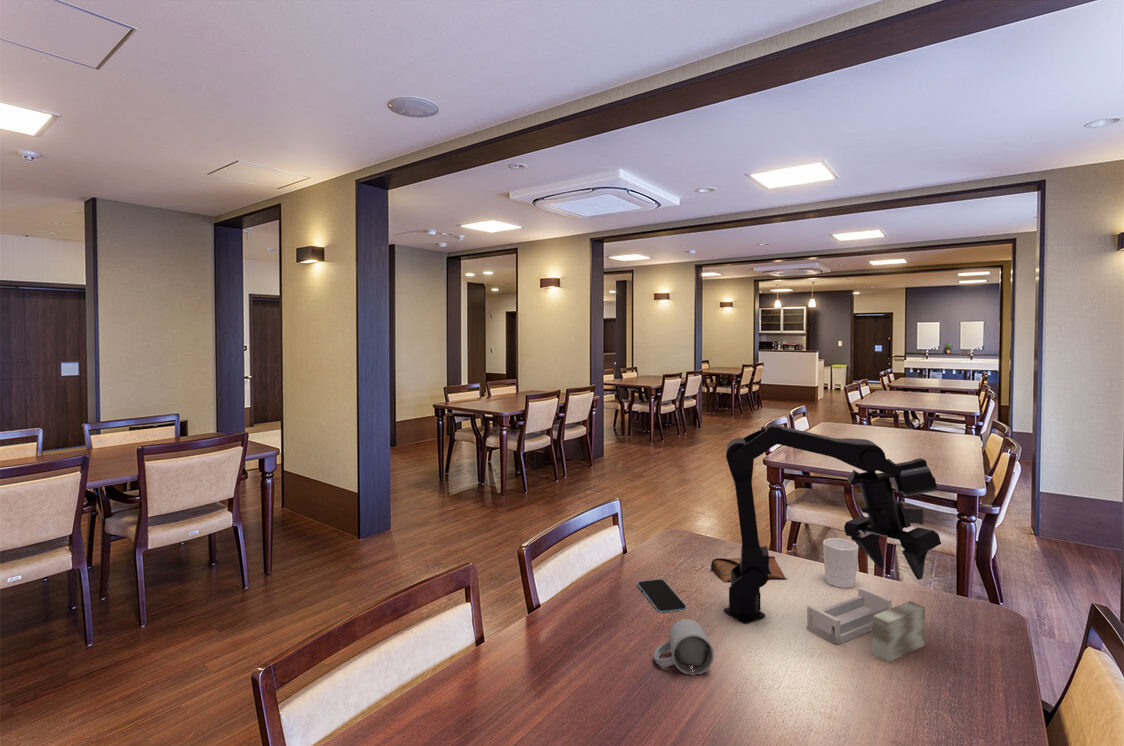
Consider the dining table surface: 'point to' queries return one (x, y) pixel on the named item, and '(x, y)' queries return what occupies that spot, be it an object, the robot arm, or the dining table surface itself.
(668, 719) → the dining table surface
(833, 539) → the white cup
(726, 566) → the sunglasses case
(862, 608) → the cabinet track
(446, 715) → the dining table surface
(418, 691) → the dining table surface
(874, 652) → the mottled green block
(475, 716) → the dining table surface
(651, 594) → the smartphone
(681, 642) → the ceramic mug
